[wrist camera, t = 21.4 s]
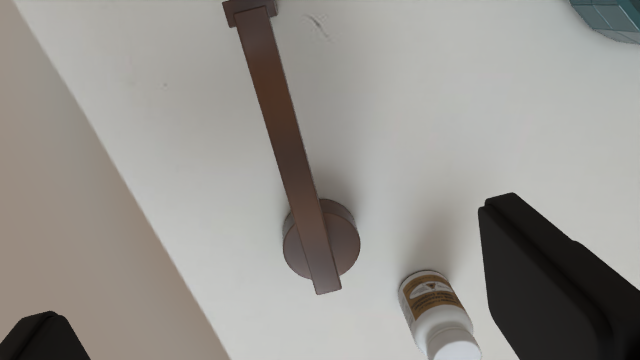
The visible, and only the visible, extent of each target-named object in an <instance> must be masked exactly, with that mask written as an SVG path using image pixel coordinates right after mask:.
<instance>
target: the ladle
mask: <svg viewBox="0 0 640 360" xmlns="http://www.w3.org/2000/svg"><path fill="white" fill-rule="evenodd" d="M222 5H223V8H224V12H225V15H226V18H227V21H228V25H229V27H230V28H232V27H236V28H237V31H238V34H239V38H240V41H241V44H242V48H243V51H244V54H245V58H246V61H247V64H248V68H249V71H250V74H251V78H252V81H253V84H254V88H255V91H256V94H257V98H258V101H259V104H260V108H261V111H262V114H263V118H264V121H265V124H266V128H267V131H268V135H269V138H270V141H271V145H272V148H273V151H274V155H275V158H276V161H277V165H278V168H279V171H280V175H281V178H282V181H283V185H284V188H285V191H286V195H287V198H288V201H289V205H290V208H291V211H292V212H291V213H290V214H289V215H288V217H287V219H286V221H285V223H284V227H283V254H284V258H285V260H286V262H287V264H288V265H289V267H290V268H291V269H292V270H293V271H294V272H295V273H297V274H298V275H300V276H302V277H304V278H307V279H311V280H312V281H313V285H314V288H315V291H316V294H317V295H321V294H325V293H329V292H333V291H337V290H340V289H342V286H341V281H340V277H339V276H340V275H342V274H344V273H345V272H346V271H348V270H349V269H350V268H351V267H352V266H353V264H354V263H355V261H356V260H357V258H358V255H359V252H360V237H359V234H358V231H357V228H356V225H355V222H354V219H353V217H352V215H351V214H350V212H349V211H348V210H347V209H346V208H345V207H343V206H342V205H340V204H339V203H336V202H334V201H331V200H325V199H318V195H317V191H316V188H315V184H314V180H313V176H312V173H311V169H310V165H309V162H308V158H307V154H306V150H305V147H304V143H303V139H302V136H301V132H300V128H299V125H298V121H297V117H296V113H295V110H294V106H293V102H292V99H291V95H290V91H289V87H288V84H287V80H286V76H285V73H284V69H283V65H282V61H281V58H280V54H279V50H278V47H277V43H276V39H275V35H274V32H273V28H272V24H271V21H270V17H274V16H277V14H278V10H277V6H276V3H275V0H229V1H225V2H222Z"/></svg>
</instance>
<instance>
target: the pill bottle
mask: <svg viewBox="0 0 640 360" xmlns="http://www.w3.org/2000/svg"><path fill="white" fill-rule="evenodd" d="M398 299H399V303H400V306H401V309H402V311H403V314H404V316H405V319H406V321H407V324H408V326H409V328H410V331H411V334H412V337H413V339H414V341H415V344H416V346H417V347H418V349H419V350H420V351H421V352H422V353H423V354H425V355H427V356H428V359H429V360H481V359H482V353H481V350H480V348H479V346H478V344H477V342H476V340H475V338H474V337H473V324H472V322H471V319H470V318H469V316H468V314H467V312H466V311H465V309H464V307H463V306H462V304H461V302H460V301H459V299H458V297H457V296H456V294H455V292H454V290H453V289H452V287H451V285H450V284H449V282H448V281H447V279H446V278H445V277H444V276H442V275H441V274H439V273H437V272H433V271H422V272H418V273H415V274H413V275H411V276H410V277H408V278H407V279H406V280H405V281H404V282H403V284H402V285H401V287H400V289H399V293H398Z"/></svg>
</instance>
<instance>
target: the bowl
mask: <svg viewBox="0 0 640 360" xmlns="http://www.w3.org/2000/svg"><path fill="white" fill-rule="evenodd" d="M569 1H570V3H571V5H572V7H573V8H574V9H575V10H576V11H577V12H578V14H579V15H580V16H581V17H582V18H583V19H584V21H585V22H586V23H587V24H588V25H589V27H590V28H592V29H593V30H595V31H597V32H599V33H601V34H603V35H605V36H607V37H609V38H611V39H613V40H615V41H618V42H624V43H633V44H640V0H569Z"/></svg>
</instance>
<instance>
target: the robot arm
mask: <svg viewBox="0 0 640 360" xmlns="http://www.w3.org/2000/svg"><path fill="white" fill-rule="evenodd" d="M478 219H479V228H480V237H481V246H482V254H483V263H484V272H485V281H486V290H487V298H488V306H489V310H490V313H491V316H492V318H493V320H494V322H495V323H496V325H497V326H498V328H499V329H500V331H501V332H502V334H503V335H504V337H505V338H506V340H507V341H508V343H509V344H510V346H511V347H512V349H513V350H514V352H515V353H516V355H517V356H518V358H519V359H520V360H640V291H639V290H638V289H637V288H636V287H634V286H633V285H632V284H631V283H629V282H628V281H627V280H626V279H624V278H623V277H622V276H621V275H619V274H618V273H617V272H616V271H614V270H613V269H612V268H611V267H610V266H608V265H607V264H606V263H605V262H603V261H602V260H601V259H600V258H598V257H597V256H596V255H595V254H593V253H592V252H591V251H590V250H589V249H587V248H586V247H585V246H584V245H582V244H581V243H579V242H577V241H573V240H571V239H570V238H569V237H568V236H567V235H565V234H564V233H563V232H562V231H560V230H559V229H558V228H557V227H556V226H554V225H553V224H552V223H551V222H549V221H548V220H547V219H546V218H545V217H543V216H542V215H541V214H540V213H539V212H537V211H536V210H535V209H534V208H532V207H531V206H530V205H529V204H528V203H526V202H525V201H524V200H523V199H521V198H520V197H519V196H518V195H517V194H515V193H513V192H512V193H507V194H503V195H499V196H495V197H492V198H488V199H486V200H485V206H483V207H479V209H478ZM0 360H91V359H90V358H89V356H88V354H87V353H86V351H85V349H84V347H83V346H82V345H81V342H80V341H79V339H78V337H77V336H76V334H75V332H74V331H73V329H72V327H71V325H70V324H69V322H68V320H67V319H66V318H65V317H64V316H62V315H58V314H57V313H55V312H53V311H47V312H43V313H39V314H35V315H31V316H28V317H24V318H22V319H21V320H20V321H18V323H17V324H16V325H15V326H14V328H13V329H12V330H11V331H10V332H9V334H8V335H7V336H6V337H5V339H4V340H3V341H2V342H1V344H0Z"/></svg>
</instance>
